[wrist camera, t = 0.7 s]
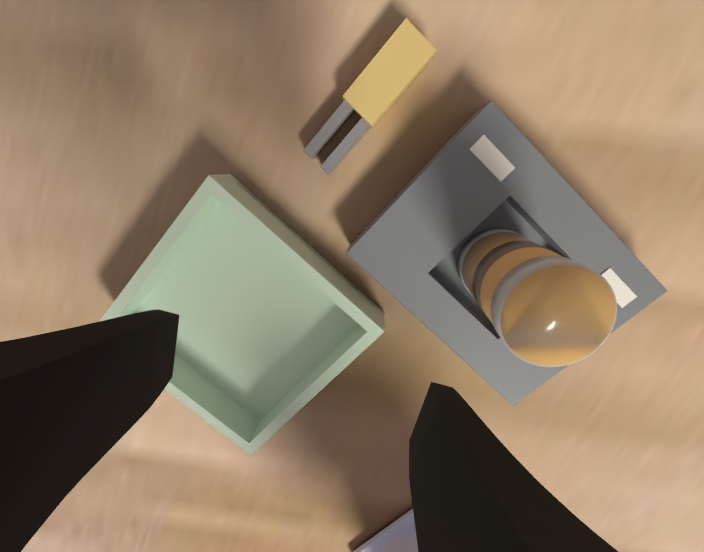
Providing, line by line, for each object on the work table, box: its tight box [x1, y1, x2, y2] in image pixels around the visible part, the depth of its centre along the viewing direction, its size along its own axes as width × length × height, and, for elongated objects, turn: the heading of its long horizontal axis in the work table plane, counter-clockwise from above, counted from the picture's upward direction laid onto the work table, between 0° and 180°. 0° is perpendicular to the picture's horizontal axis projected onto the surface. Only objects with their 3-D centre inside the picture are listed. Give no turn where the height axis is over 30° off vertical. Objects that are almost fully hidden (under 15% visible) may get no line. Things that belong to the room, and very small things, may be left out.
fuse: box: [457, 227, 617, 367], centre depth 15 cm, size 4×4×7 cm
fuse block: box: [346, 101, 667, 406], centre depth 18 cm, size 12×9×2 cm
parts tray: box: [99, 174, 384, 455], centre depth 20 cm, size 11×11×2 cm
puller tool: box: [303, 18, 436, 174], centre depth 17 cm, size 7×2×1 cm, turn 137°
